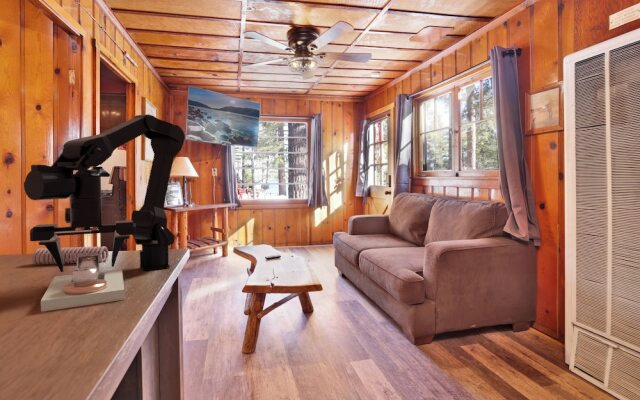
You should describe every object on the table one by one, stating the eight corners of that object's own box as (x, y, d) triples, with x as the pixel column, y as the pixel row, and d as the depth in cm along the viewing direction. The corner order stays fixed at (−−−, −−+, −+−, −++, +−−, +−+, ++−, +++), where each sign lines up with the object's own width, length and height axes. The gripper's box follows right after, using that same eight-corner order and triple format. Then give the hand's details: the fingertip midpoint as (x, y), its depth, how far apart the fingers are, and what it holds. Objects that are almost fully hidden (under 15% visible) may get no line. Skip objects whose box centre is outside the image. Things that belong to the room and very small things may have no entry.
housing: (122, 277, 85) (121, 269, 85) (124, 299, 69) (124, 289, 69) (55, 285, 78) (54, 276, 78) (41, 311, 63) (40, 300, 63)
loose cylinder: (99, 283, 80) (98, 253, 80) (99, 288, 77) (98, 256, 76) (78, 286, 78) (77, 254, 78) (76, 291, 74) (75, 258, 74)
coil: (29, 251, 95) (103, 248, 99) (39, 246, 99) (109, 244, 103) (31, 267, 96) (104, 264, 99) (40, 262, 100) (110, 259, 104)
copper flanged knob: (106, 282, 74) (106, 263, 74) (106, 291, 68) (105, 270, 68) (66, 287, 71) (65, 267, 70) (61, 297, 65) (61, 275, 64)
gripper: (132, 195, 88) (134, 257, 89) (38, 197, 78) (40, 266, 79) (135, 197, 78) (137, 266, 79) (27, 199, 69) (31, 278, 70)
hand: (88, 269), depth 77 cm, fingers open, 9 cm apart
